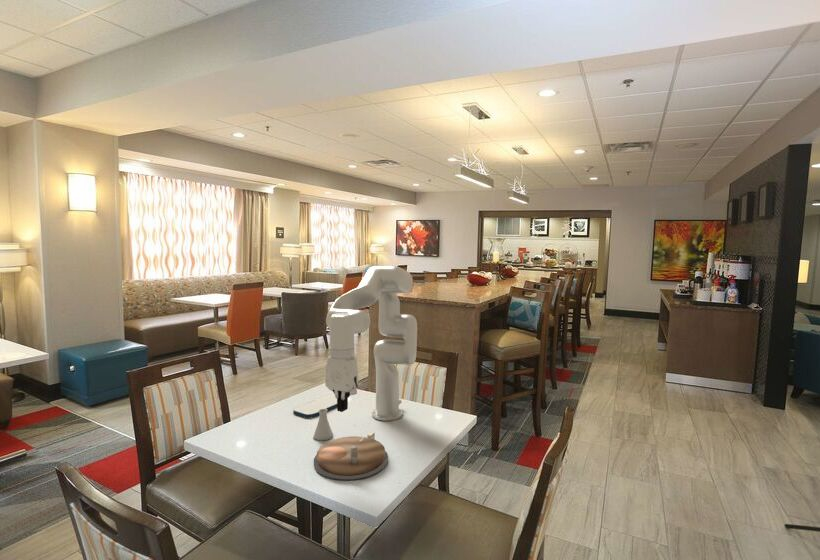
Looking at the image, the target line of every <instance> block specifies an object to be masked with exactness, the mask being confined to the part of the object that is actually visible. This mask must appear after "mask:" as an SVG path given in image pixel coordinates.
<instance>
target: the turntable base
mask: <svg viewBox="0 0 820 560" xmlns="http://www.w3.org/2000/svg"><path fill="white" fill-rule="evenodd" d="M375 435H376V433H375V431H371V432H369V433H368V434H367V438H371V439H374V440H376V439H375ZM388 464H389V454H388V451H386V450H385V460H384V462H383V463H382V464H381V465H380V466H379V467H377V468H376V469H374V470H372V471H369V472H366V473H362V474H357V475H338V474H333V473H329V472H327V471H325V470H323V469H322V468H320V467H319V465H318V464H317V454H316V455H315V456H314V458H313V469H314V471H316V473H317V474H318V475H320V476H322V477H324V478H326V479H329V480H332V481H337V482H338V481H339V482H355V481H361V480H366V479H369V478H372V477H374V476H376V475H378V474H380V473H381V472H383V471H384V470H385V469H386V468H387V466H388Z"/></svg>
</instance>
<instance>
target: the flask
mask: <svg viewBox="0 0 820 560" xmlns="http://www.w3.org/2000/svg"><path fill="white" fill-rule="evenodd" d="M327 412H328V411H327V409H320V410H319V415H318V416H319V417H318V421H317V425H316V428H315V431H314V434H313V439H314V440H318V441H328V440H330V439H332V438H333V435H334V433H333V431H332V428H331V426H330V422H329V420H328V413H327Z"/></svg>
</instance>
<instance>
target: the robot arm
mask: <svg viewBox="0 0 820 560" xmlns="http://www.w3.org/2000/svg"><path fill="white" fill-rule="evenodd" d="M413 280H414V279H413V276H412V274H411V273H410V272H409V271H407V270H405V269H404V268H402V267H401V266H400V267H399V266H395V265H373V266H371V267H369V268H368V269H367V270H366V272H365V273H364V275H363V277H362V278H361V280H360V282H359V284H358V285H357V287H356V288H353V289H351V290H349V291H348V292H346V293H344V294H342V295H340V296H339V297H338V298H336V299H335V301H334V302H333V303H332V304H331V306H330V308H329V309H328V312H327V313H326V314H327V315H326V319H325V323H326V326H327V328H328V329H329V347H328V348H327V351H328V352H329V356H328V357H327V360H326V364H325V374H324V379H325V380H324V382H325V383H324V385H325V387H326V388H327V389H328V390H329V391H332V393H333V395H335V397H336V398H337V407H336V410H337V412H341V413H343V412H345V411H347V410H348V407H349V406H348V405H349V404H348V403H349V402H348V398H349V397H350V396H355V395H357V394H358V389H357V388H358V387H359V371H358V370H359V369H358V364H357V359H356V357H355V335H356V334H357V335H358V334H362V333H364V332H367V330H368V329H370V328H369V327H371V326H370V325H371V316H370V314H369V313H368V312H367V311H365V310H361V309H363V308H367V307H370V306H372V305H374V304H376V303H377V301H378V333H379V334H380V335H382V336H384V337H390V338H403V340H396V339H380V340H378V341H376V343H375V344H374V347H373V356H374V363H375V409H374V410H372V412H371V416H372V417H373V418H374V419H375V420H378V421H386V422H390V421H396V420H399V419H400V418H402V416H403V410H402V409H400V407H399V406H400V405H401V404H402V399H399V398H400V373H399V370H398V368H397V366H396V365H401V366H402V365H403V366H412V365H413V364H414V363H415V362H416V358H417V352H418V351H417V349H418V348H417V347H418V346H417V345H418V344H417V342H418V322H417V318H416V317H415V316H414V315H413V314H408V313H406V314H405V313H401V308H400V304H401V302H400V299H399V297H398V295H397V294H408V293H409V292H411V290H412V288H413V284H414V282H413Z"/></svg>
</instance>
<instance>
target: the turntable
mask: <svg viewBox="0 0 820 560" xmlns="http://www.w3.org/2000/svg"><path fill="white" fill-rule="evenodd" d="M385 451H386V448H385V446H384V445H383V444H382V443H381V442H379V440H376V439H375V440H374V439H371V438H367V437H365V436H359V435H358V436H356V435H354V436H343V437H338V438H334V439H331V440H329V441H327V442H325V443H324V444H322V445H321V446H320V447H319V448H318V450H317V451H316V455H317V464H318V465H319V467H320V468H322V469H323V470H325V471H327V472H329V473H333V474H338V475H357V474H362V473H366V472H369V471H372V470H374V469H376V468H377V467H379V466H380V465H381V464H382V463H383V462H384V460H385Z"/></svg>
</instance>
